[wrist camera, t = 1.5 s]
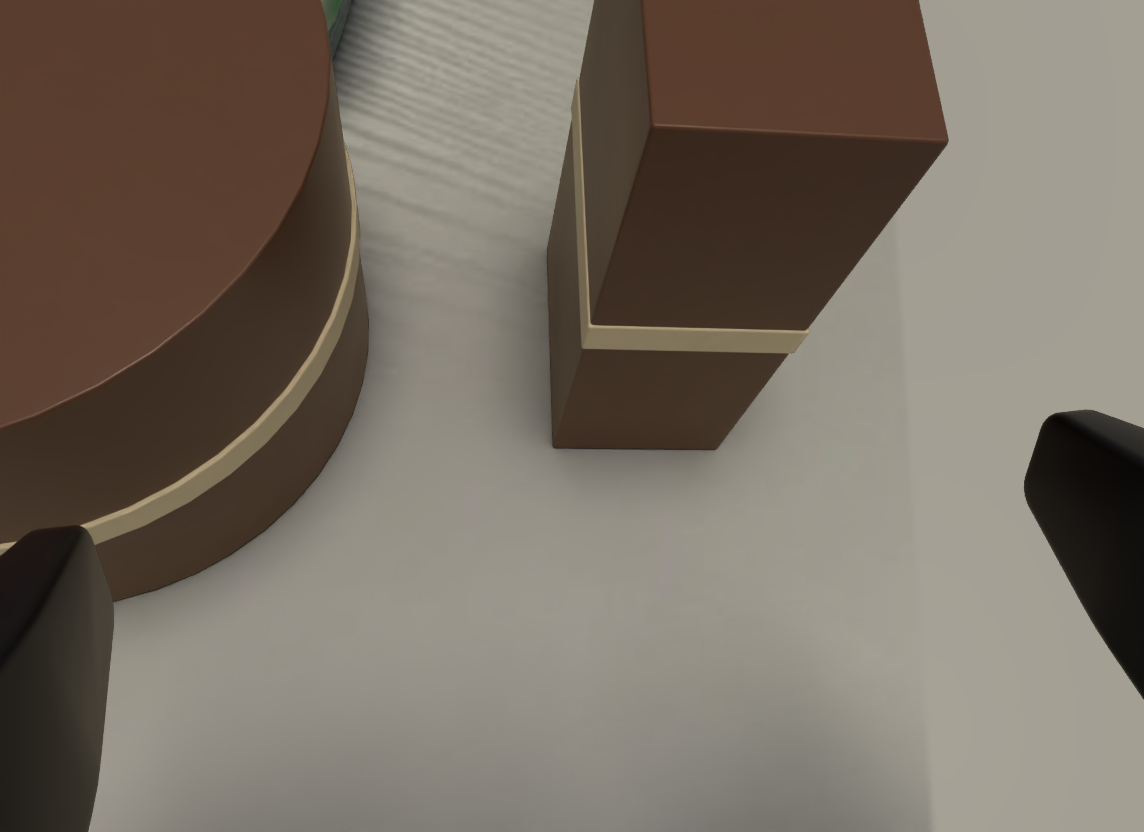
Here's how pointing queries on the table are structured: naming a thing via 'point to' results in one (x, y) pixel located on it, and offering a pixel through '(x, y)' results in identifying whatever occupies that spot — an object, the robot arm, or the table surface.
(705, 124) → the cake slice
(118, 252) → the cake
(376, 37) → the table surface
